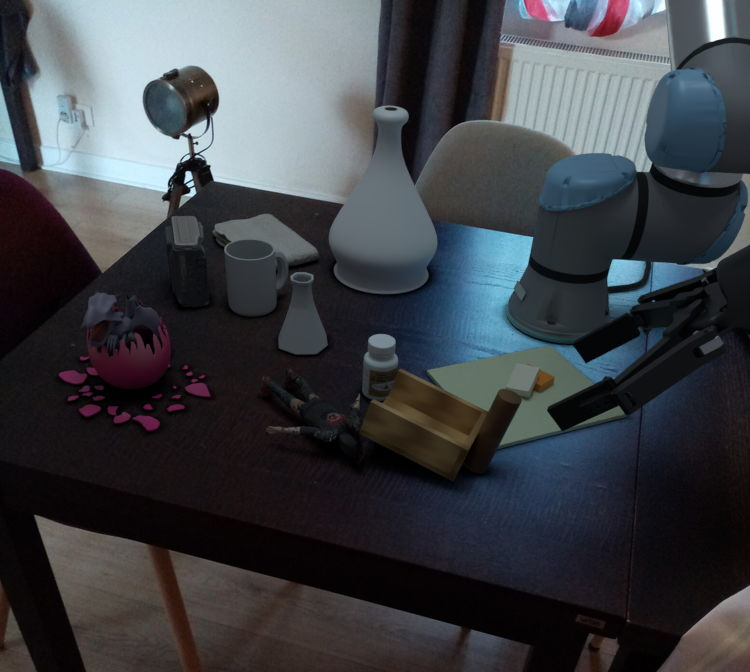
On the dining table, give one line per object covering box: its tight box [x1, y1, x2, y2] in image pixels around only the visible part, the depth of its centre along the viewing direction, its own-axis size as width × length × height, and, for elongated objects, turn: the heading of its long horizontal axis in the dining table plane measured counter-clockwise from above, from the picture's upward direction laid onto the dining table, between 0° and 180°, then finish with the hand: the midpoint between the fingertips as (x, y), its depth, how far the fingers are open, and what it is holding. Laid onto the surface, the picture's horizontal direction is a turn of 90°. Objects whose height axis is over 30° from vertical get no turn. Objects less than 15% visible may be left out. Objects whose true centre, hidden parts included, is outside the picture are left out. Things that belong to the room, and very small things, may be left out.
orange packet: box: [527, 364, 555, 393], centre depth 105 cm, size 4×3×1 cm
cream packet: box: [505, 363, 540, 398], centre depth 103 cm, size 4×3×1 cm
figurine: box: [260, 367, 368, 465], centre depth 94 cm, size 13×6×20 cm
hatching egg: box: [58, 290, 212, 432], centre depth 96 cm, size 20×16×14 cm
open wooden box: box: [358, 368, 522, 482], centre depth 89 cm, size 15×10×10 cm
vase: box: [328, 105, 438, 295], centre depth 120 cm, size 17×17×25 cm
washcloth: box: [212, 213, 320, 271], centre depth 132 cm, size 12×18×3 cm, turn 36°
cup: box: [223, 239, 289, 318], centre depth 116 cm, size 7×10×9 cm
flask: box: [277, 271, 329, 355], centre depth 107 cm, size 7×7×10 cm
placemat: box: [426, 344, 628, 450], centre depth 103 cm, size 20×18×1 cm
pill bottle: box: [361, 333, 399, 402], centre depth 100 cm, size 4×4×8 cm
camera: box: [164, 215, 210, 309], centre depth 117 cm, size 11×6×10 cm, turn 12°
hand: (567, 383), depth 81 cm, fingers open, 13 cm apart
